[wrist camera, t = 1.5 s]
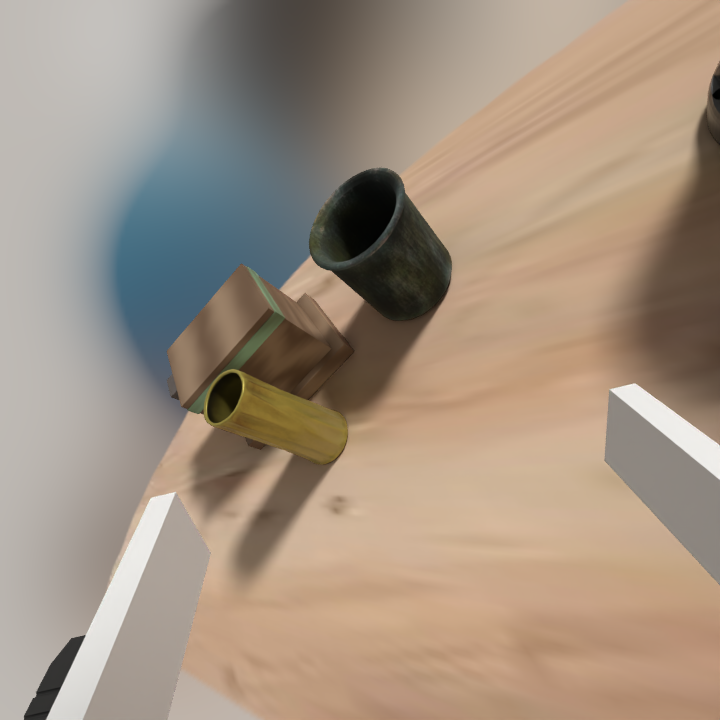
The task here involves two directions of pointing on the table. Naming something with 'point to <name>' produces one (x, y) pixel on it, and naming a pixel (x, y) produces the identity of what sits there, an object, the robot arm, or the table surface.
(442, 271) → the mug
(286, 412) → the vase
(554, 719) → the table surface
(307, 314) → the stand
